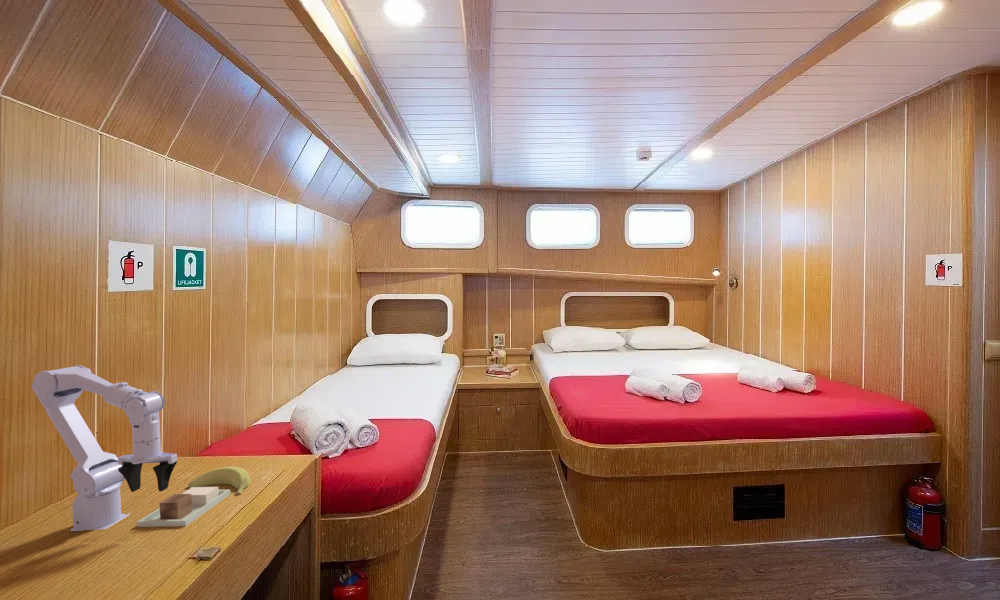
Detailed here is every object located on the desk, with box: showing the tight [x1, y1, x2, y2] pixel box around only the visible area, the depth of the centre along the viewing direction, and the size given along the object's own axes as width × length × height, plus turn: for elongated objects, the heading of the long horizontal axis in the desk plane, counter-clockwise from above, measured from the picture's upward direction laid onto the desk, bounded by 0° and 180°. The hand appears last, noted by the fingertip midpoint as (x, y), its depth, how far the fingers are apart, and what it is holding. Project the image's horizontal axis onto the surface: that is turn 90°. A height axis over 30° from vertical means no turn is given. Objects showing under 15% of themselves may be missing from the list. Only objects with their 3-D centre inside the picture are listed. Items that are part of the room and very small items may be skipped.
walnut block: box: [158, 493, 192, 520], centre depth 120 cm, size 5×5×5 cm
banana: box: [187, 466, 252, 496], centre depth 138 cm, size 14×6×20 cm
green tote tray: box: [136, 489, 231, 528], centre depth 124 cm, size 13×18×2 cm
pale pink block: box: [181, 486, 220, 506], centre depth 129 cm, size 8×5×3 cm, turn 88°
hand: (149, 489), depth 117 cm, fingers open, 7 cm apart
